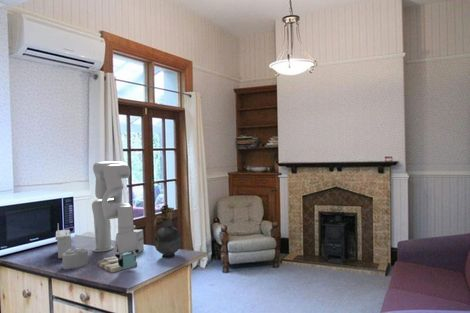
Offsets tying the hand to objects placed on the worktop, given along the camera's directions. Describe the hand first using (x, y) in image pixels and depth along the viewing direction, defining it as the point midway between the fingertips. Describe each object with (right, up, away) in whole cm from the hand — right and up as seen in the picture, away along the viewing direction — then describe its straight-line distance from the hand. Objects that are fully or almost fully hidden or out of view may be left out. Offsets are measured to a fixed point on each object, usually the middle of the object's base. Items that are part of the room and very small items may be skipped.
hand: (127, 264), depth 187 cm
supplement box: (-5, -3, +36) cm, 37 cm away
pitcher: (+16, -2, +21) cm, 27 cm away
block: (0, -1, 0) cm, 1 cm away
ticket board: (-8, -3, +9) cm, 13 cm away
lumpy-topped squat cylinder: (-32, -4, +13) cm, 35 cm away
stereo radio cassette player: (-49, -5, +35) cm, 60 cm away
